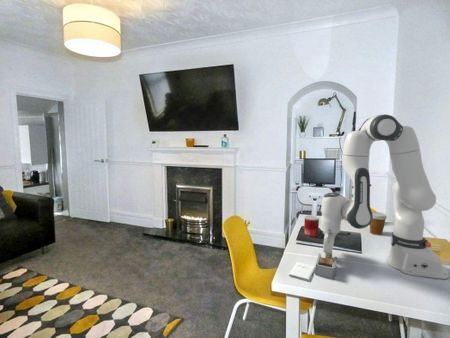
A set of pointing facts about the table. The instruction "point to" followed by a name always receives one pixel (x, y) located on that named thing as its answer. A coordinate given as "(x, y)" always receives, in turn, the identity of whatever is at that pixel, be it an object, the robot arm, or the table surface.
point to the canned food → (311, 226)
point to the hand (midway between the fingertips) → (328, 254)
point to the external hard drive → (302, 271)
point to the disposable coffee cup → (377, 223)
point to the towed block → (326, 261)
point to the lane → (325, 269)
